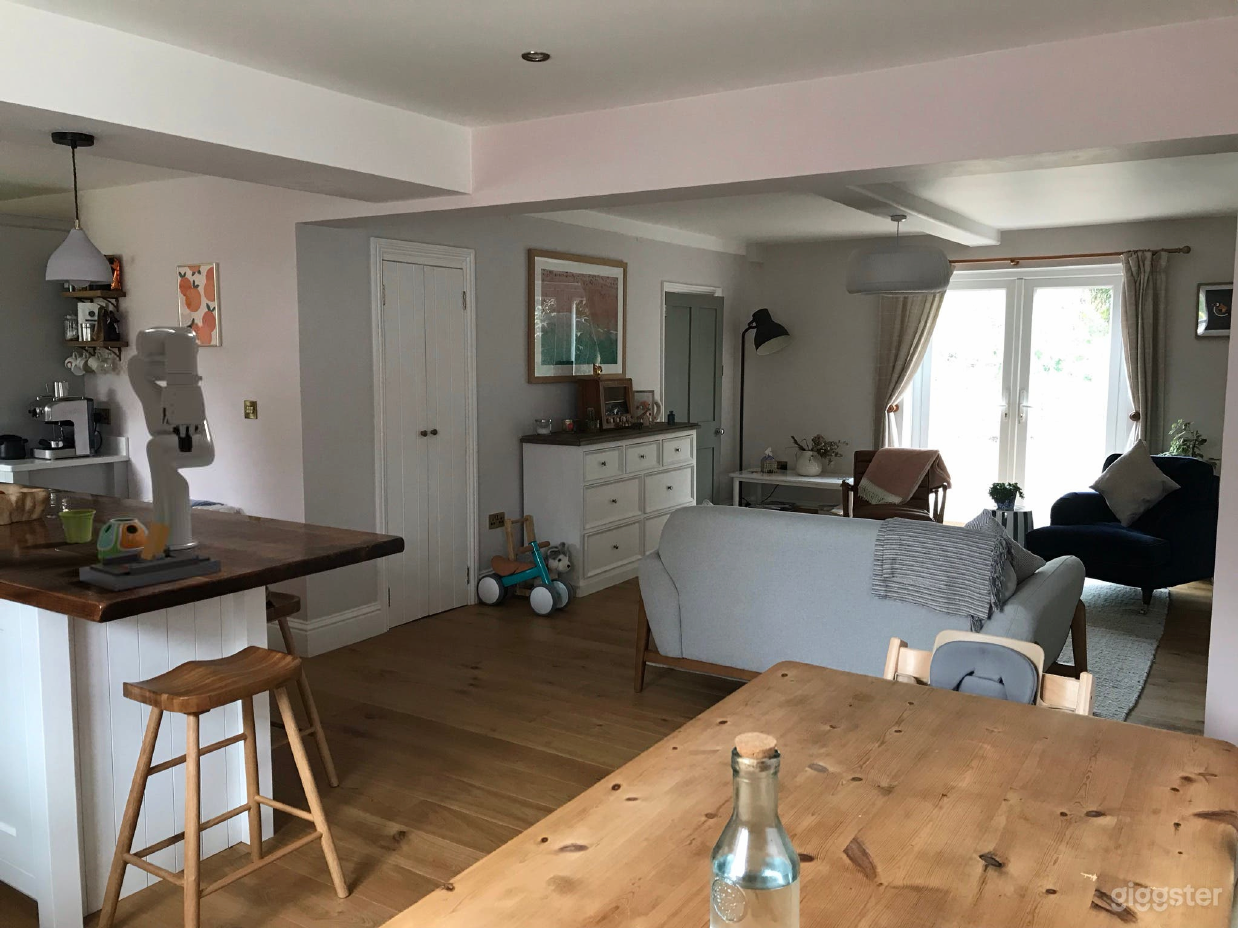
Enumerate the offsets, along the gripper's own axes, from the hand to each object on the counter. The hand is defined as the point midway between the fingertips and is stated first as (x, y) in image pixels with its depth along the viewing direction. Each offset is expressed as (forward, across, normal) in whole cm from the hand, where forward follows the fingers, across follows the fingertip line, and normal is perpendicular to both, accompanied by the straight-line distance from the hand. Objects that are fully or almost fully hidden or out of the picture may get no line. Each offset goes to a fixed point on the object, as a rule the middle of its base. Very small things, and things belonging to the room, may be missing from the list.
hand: (185, 451), depth 254 cm
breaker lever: (+25, +14, +7) cm, 29 cm away
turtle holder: (+29, +12, -12) cm, 34 cm away
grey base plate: (+29, +14, +7) cm, 33 cm away
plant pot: (+29, +5, -53) cm, 61 cm away
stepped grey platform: (+26, +14, +7) cm, 30 cm away
